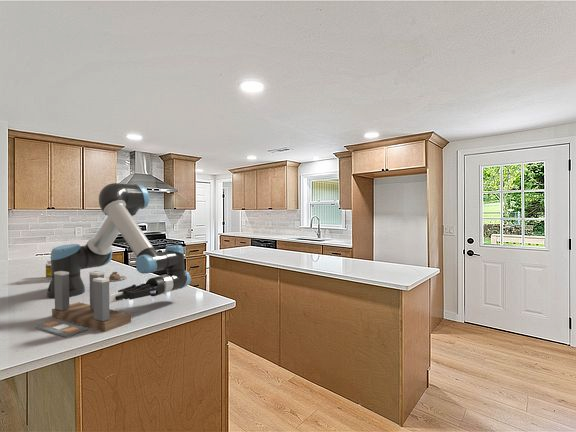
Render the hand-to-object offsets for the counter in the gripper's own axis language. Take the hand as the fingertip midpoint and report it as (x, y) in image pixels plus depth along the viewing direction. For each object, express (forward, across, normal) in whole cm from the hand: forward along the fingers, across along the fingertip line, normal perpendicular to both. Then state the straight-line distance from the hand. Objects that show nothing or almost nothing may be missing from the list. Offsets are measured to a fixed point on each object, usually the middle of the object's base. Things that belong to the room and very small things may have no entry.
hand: (105, 300), depth 115 cm
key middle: (-5, +12, -6) cm, 14 cm away
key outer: (+2, 0, -6) cm, 6 cm away
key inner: (+2, +24, -6) cm, 25 cm away
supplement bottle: (-34, +101, -10) cm, 108 cm away
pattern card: (+9, +12, -10) cm, 17 cm away
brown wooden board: (-2, +12, -10) cm, 15 cm away
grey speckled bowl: (-49, +65, -10) cm, 82 cm away
